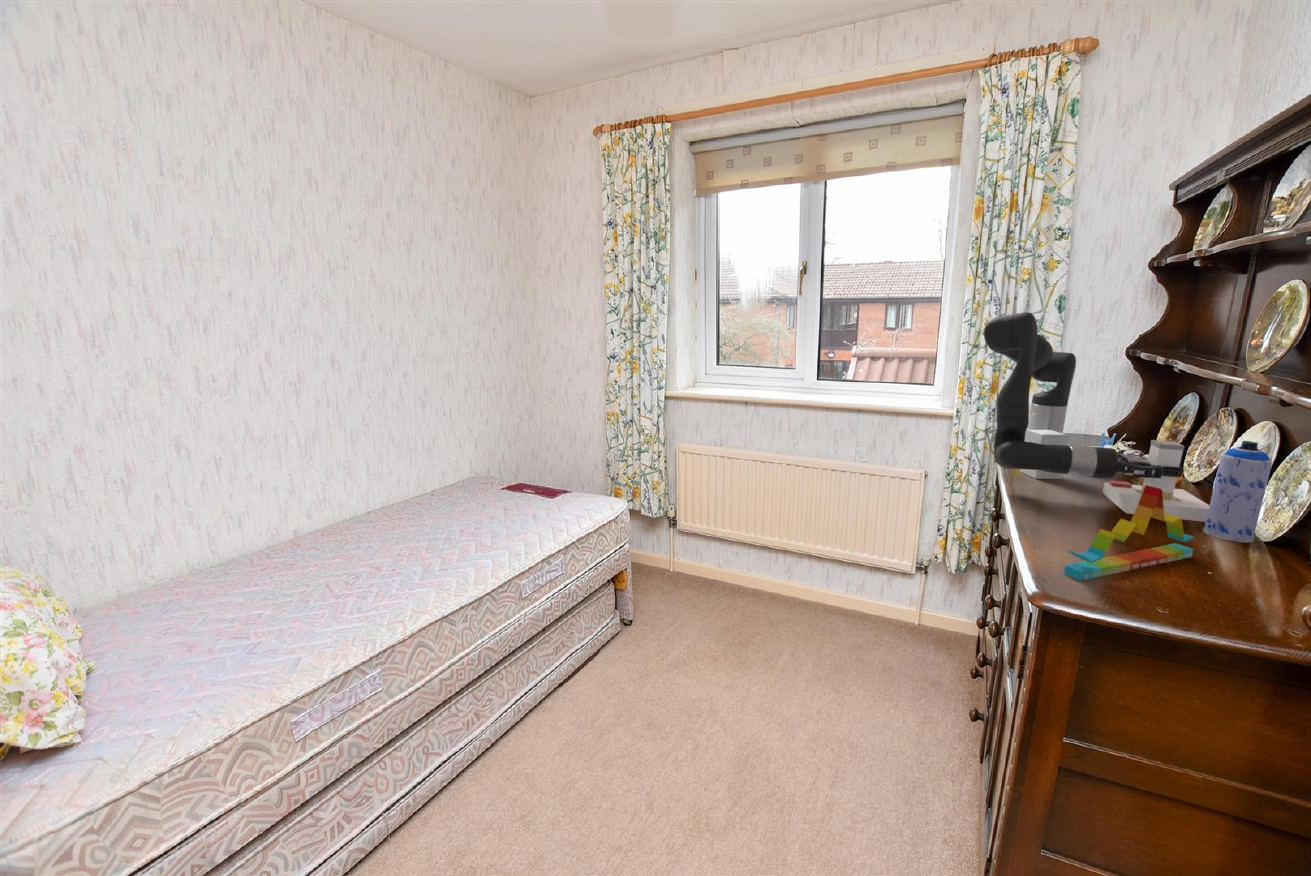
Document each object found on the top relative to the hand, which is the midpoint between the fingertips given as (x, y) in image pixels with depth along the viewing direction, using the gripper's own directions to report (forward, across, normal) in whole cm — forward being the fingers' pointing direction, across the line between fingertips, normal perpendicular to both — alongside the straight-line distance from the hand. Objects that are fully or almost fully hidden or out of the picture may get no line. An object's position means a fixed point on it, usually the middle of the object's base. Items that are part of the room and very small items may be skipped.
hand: (1176, 469), depth 136 cm
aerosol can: (+4, -16, +10) cm, 19 cm away
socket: (-3, 0, +10) cm, 10 cm away
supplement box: (-22, +21, +10) cm, 32 cm away
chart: (-21, -42, +10) cm, 48 cm away
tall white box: (-3, 0, +8) cm, 8 cm away
